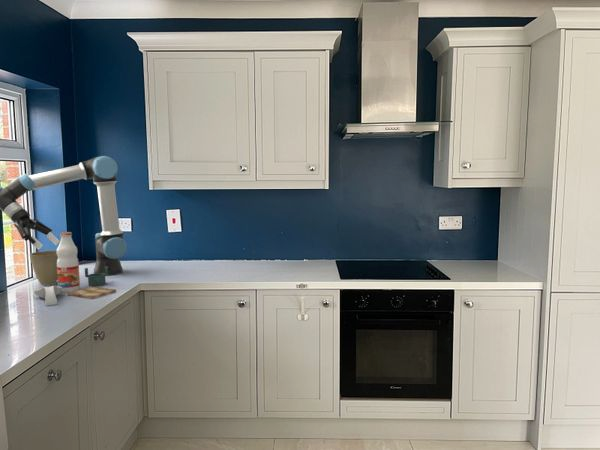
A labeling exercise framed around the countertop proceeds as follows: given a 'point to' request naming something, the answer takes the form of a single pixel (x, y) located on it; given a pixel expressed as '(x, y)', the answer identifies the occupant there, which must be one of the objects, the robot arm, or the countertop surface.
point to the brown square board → (91, 292)
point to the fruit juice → (67, 264)
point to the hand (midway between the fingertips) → (49, 245)
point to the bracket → (96, 278)
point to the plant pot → (45, 266)
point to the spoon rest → (48, 294)
